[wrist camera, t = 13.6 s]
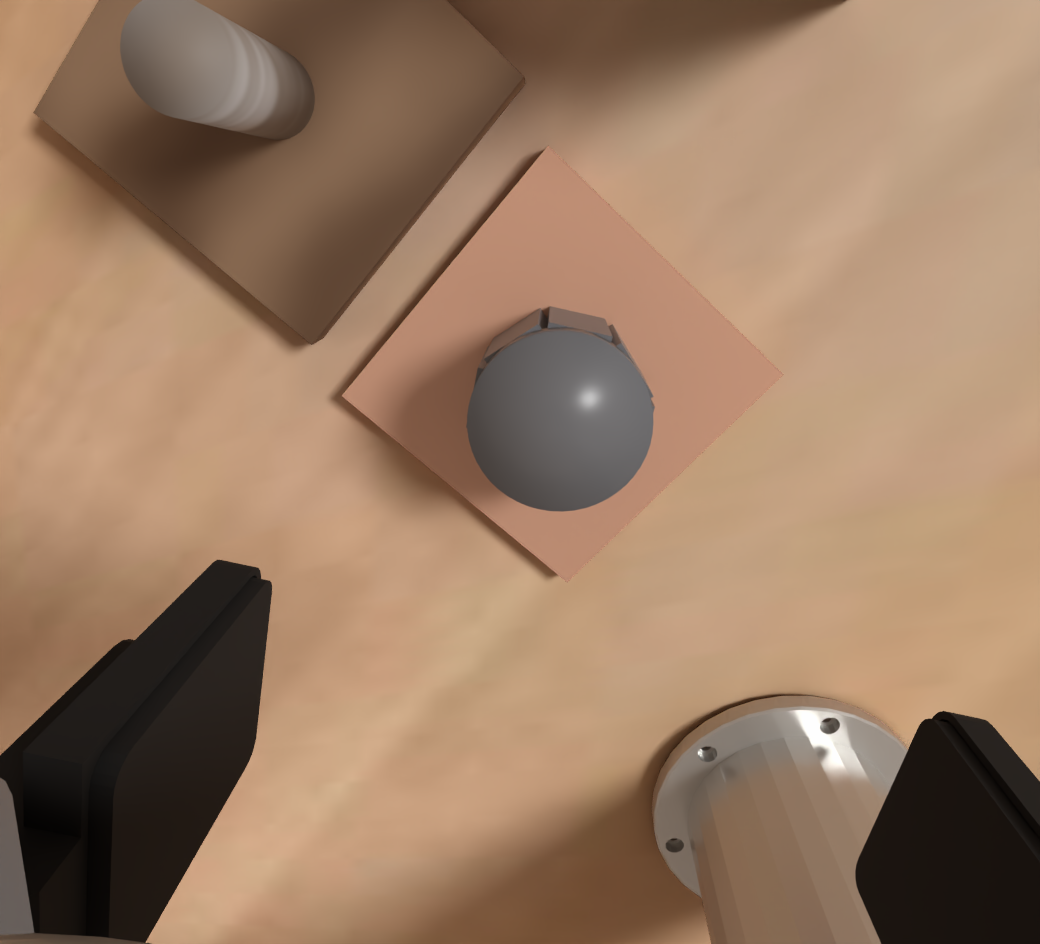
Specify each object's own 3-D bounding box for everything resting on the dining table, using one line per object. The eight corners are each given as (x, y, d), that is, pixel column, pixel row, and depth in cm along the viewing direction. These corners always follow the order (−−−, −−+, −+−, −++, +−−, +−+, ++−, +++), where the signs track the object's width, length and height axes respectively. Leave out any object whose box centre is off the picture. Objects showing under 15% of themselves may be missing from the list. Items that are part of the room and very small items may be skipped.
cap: (615, 477, 30) (626, 528, 25) (468, 445, 30) (451, 490, 25) (655, 329, 28) (676, 355, 23) (498, 294, 28) (486, 313, 23)
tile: (776, 369, 29) (783, 374, 28) (566, 571, 33) (567, 582, 32) (548, 147, 27) (548, 145, 26) (348, 389, 30) (341, 396, 29)
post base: (525, 83, 26) (512, 31, 18) (323, 338, 30) (237, 388, 22) (245, -193, 24) (91, -390, 16) (60, 117, 27) (-144, 82, 19)
